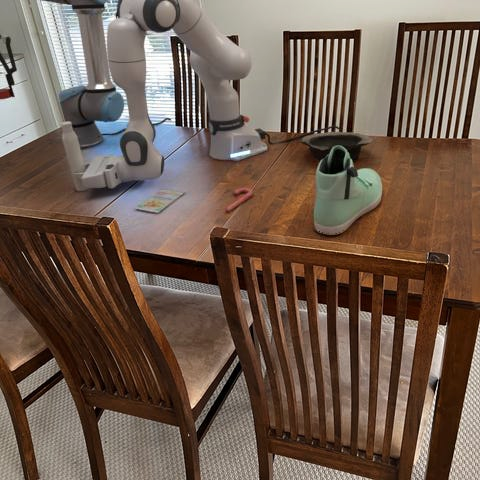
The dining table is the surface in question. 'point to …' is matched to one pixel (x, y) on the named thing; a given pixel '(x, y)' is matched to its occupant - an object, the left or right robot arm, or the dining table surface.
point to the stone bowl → (336, 143)
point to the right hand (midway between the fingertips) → (75, 171)
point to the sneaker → (343, 192)
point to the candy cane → (236, 192)
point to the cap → (5, 93)
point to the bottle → (73, 153)
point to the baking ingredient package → (159, 200)
